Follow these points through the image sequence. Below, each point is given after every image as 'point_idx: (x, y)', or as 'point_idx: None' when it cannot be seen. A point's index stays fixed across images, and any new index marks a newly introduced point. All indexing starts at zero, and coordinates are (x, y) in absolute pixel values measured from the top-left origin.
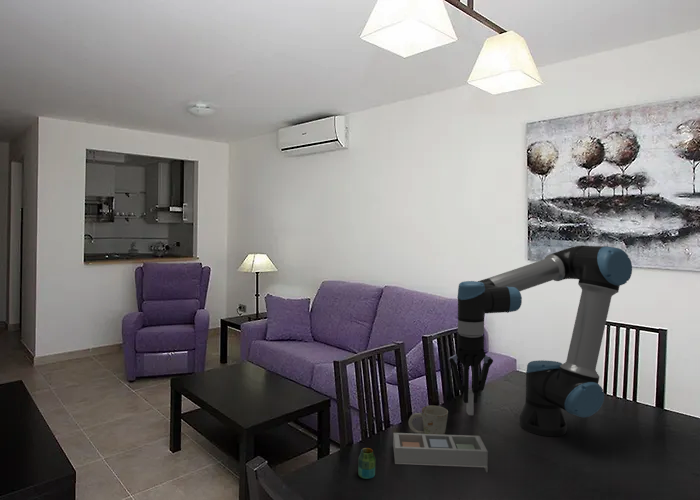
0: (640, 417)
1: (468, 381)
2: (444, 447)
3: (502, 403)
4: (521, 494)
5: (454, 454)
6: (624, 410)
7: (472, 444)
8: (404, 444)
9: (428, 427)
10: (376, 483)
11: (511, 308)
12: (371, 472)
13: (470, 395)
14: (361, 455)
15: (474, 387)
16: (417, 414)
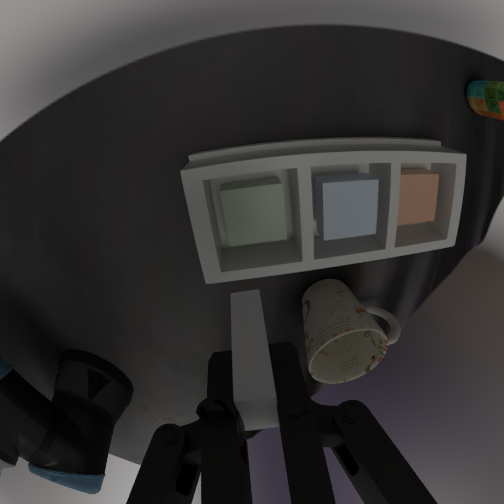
0: None
1: (291, 486)
2: (336, 182)
3: None
4: (115, 69)
5: (302, 151)
6: None
7: (229, 257)
8: (432, 205)
9: (360, 305)
10: (459, 80)
11: None
12: (482, 82)
13: (258, 384)
14: None
15: (228, 445)
16: (389, 340)
